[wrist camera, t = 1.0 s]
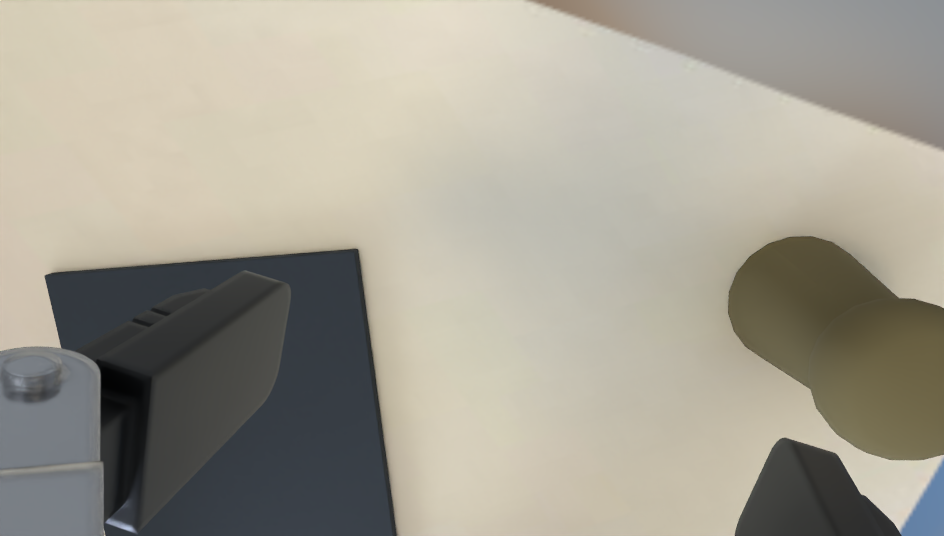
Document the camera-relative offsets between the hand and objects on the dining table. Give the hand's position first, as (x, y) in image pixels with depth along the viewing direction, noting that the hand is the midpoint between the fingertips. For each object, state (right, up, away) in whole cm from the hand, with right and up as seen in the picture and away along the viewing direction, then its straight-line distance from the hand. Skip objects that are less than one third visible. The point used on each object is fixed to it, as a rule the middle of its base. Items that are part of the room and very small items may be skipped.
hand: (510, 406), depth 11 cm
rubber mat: (-13, -7, +25) cm, 29 cm away
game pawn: (+14, +1, +20) cm, 25 cm away
